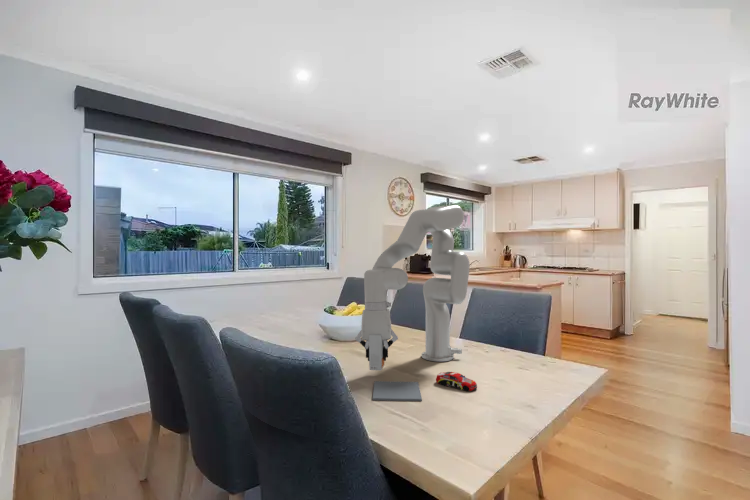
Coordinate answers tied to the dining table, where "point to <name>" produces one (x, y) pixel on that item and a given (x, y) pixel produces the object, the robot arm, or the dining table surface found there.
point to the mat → (396, 391)
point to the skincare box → (376, 352)
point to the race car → (456, 381)
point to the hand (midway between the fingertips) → (377, 359)
